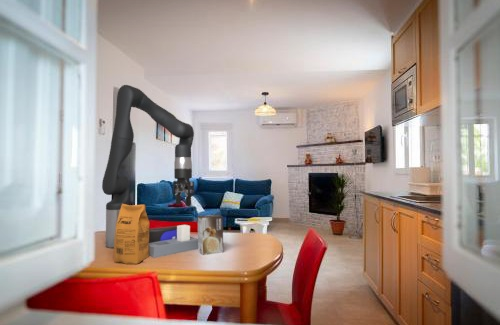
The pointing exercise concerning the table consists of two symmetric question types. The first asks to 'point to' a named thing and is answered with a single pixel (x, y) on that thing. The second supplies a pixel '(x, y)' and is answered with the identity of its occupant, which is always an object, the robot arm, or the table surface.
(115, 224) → the robot arm
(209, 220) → the coffee box
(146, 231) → the coffee package
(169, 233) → the dark computer mouse
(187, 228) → the plug
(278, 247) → the table surface
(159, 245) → the block
